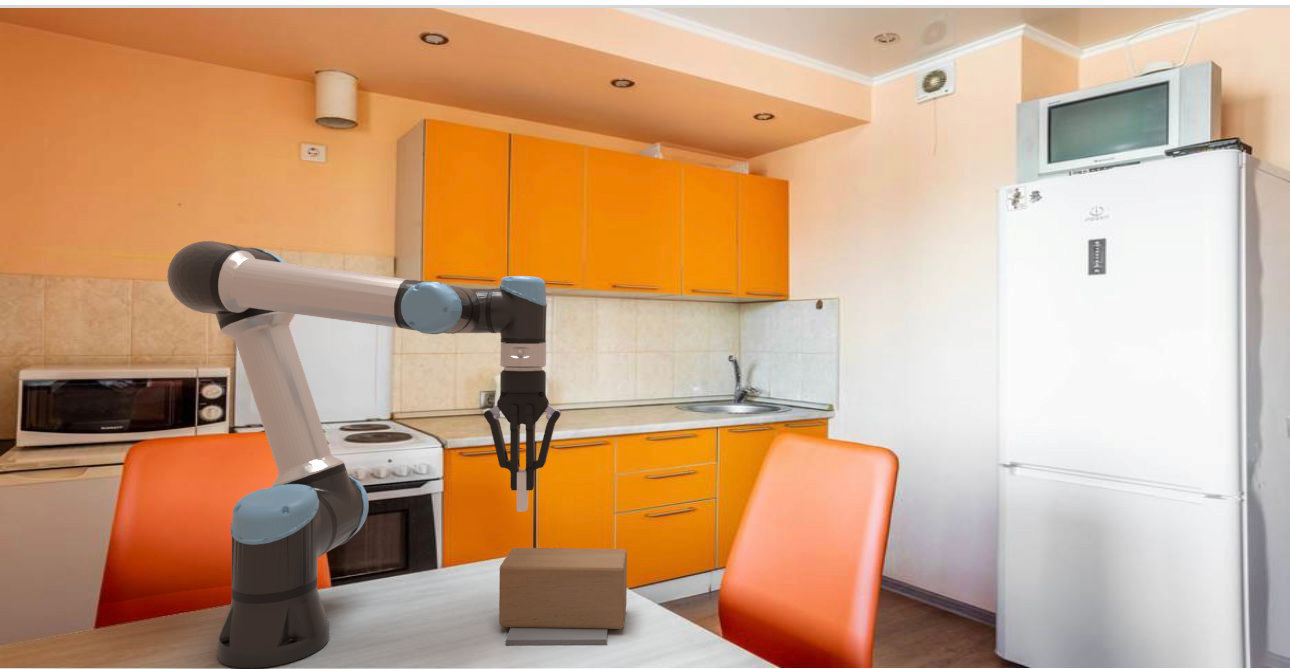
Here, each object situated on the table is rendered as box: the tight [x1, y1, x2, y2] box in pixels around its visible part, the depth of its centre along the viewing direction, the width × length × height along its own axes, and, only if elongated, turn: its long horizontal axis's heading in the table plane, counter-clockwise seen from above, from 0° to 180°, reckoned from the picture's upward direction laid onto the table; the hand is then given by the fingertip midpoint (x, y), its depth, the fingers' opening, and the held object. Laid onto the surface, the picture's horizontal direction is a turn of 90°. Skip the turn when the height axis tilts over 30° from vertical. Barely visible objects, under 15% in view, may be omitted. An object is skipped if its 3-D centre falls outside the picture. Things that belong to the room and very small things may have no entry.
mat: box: [505, 627, 608, 646], centre depth 120 cm, size 16×20×1 cm
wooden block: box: [498, 547, 628, 630], centre depth 119 cm, size 10×10×20 cm
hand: (522, 509), depth 120 cm, fingers closed
